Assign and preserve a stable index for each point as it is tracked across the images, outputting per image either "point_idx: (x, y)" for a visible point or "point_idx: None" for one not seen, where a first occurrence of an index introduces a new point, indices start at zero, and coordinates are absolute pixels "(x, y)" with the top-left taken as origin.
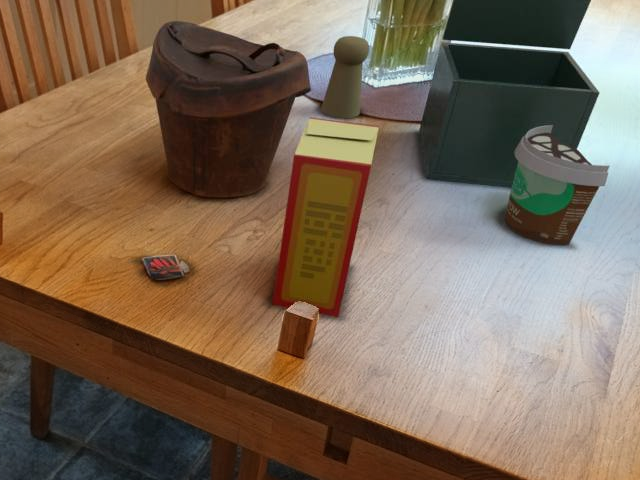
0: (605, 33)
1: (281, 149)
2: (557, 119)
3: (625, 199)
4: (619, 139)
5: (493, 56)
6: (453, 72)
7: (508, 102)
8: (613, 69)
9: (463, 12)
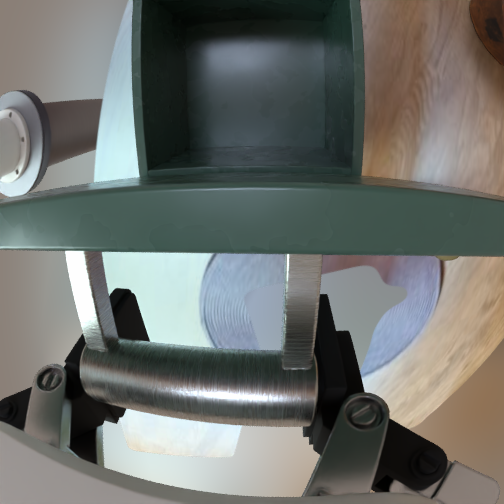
0: (135, 424)
1: (470, 87)
2: None
3: (120, 38)
4: None
5: (263, 162)
6: (356, 5)
7: None
8: None
9: (355, 175)
